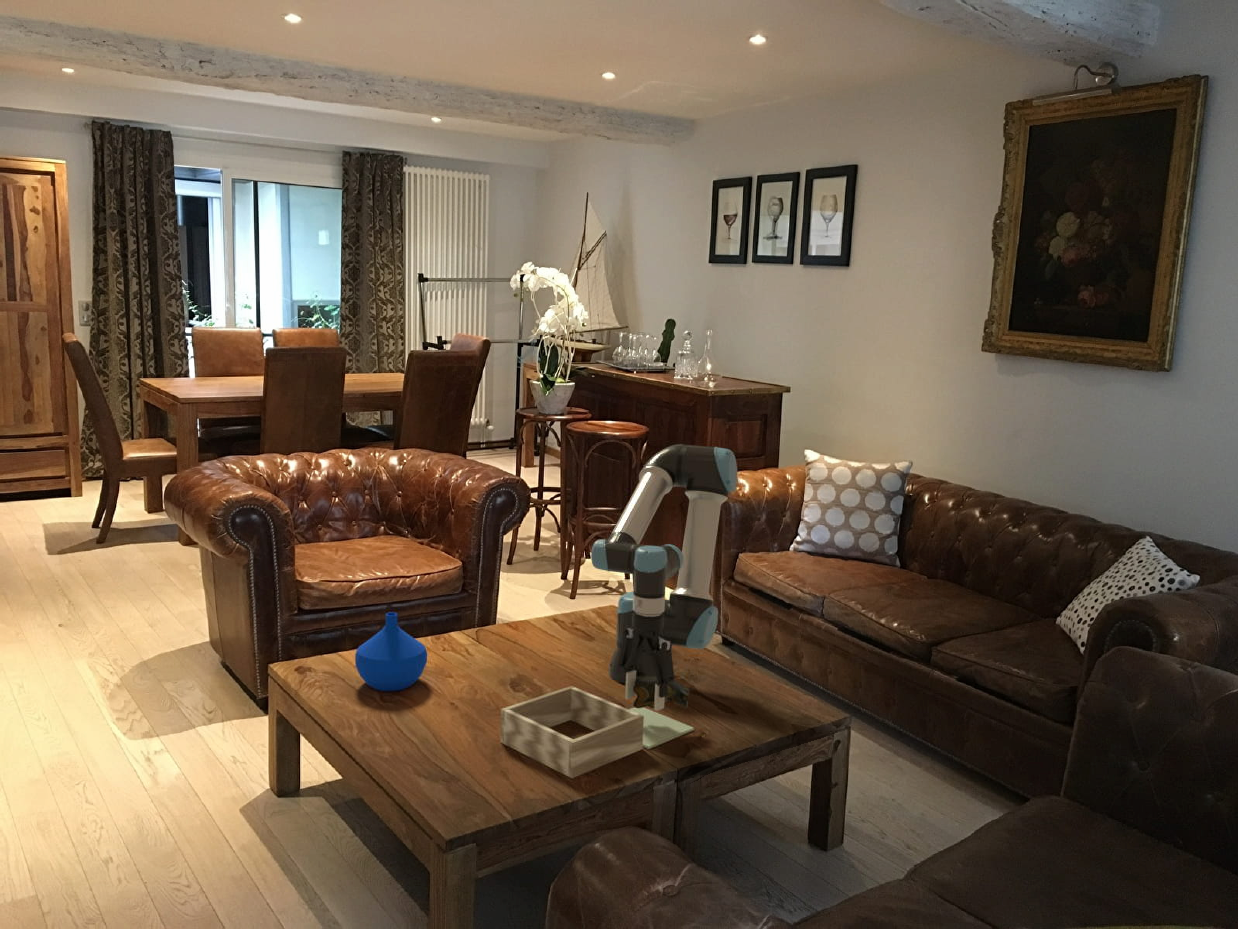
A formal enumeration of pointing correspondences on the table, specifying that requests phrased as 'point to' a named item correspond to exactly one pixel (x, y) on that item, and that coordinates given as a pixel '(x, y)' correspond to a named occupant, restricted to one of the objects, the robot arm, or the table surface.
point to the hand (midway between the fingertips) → (644, 703)
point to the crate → (570, 757)
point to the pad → (659, 728)
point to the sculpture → (647, 693)
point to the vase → (391, 658)
